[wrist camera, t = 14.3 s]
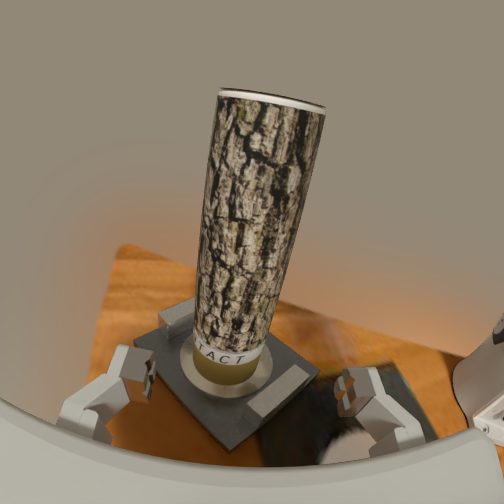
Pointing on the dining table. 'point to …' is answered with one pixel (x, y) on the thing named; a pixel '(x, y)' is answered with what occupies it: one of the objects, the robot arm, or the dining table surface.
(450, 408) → the dining table surface
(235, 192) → the paper tube
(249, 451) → the dining table surface
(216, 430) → the collar plate
